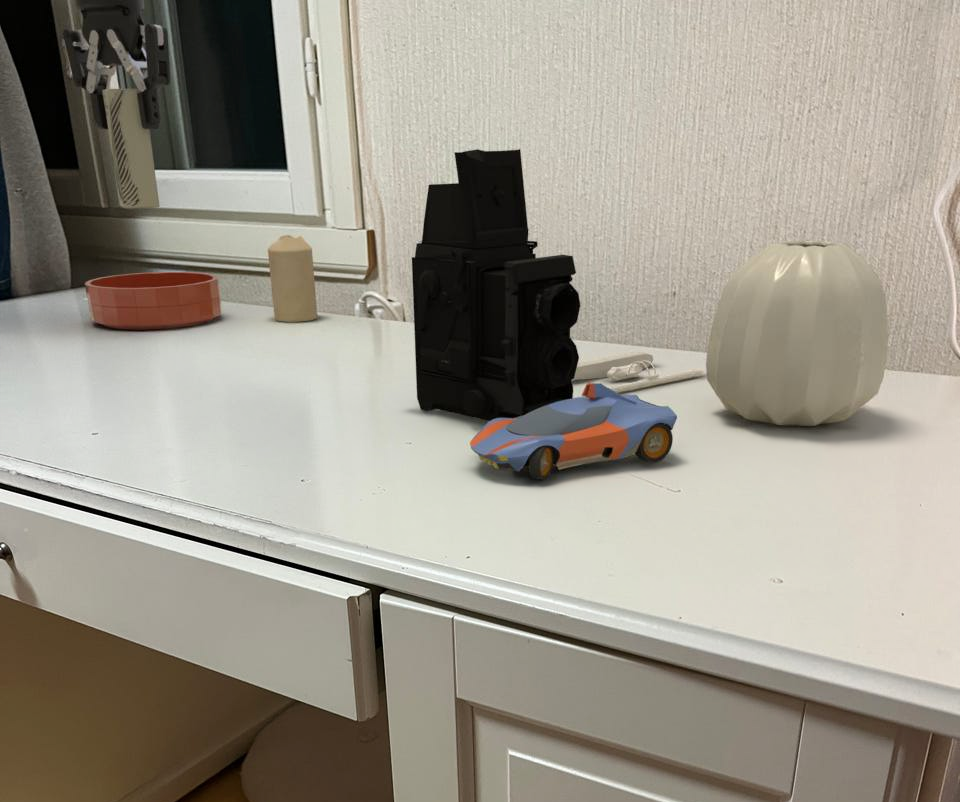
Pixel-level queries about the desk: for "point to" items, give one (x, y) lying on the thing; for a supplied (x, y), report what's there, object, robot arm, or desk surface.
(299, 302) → the candle
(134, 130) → the box
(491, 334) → the camera
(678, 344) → the desk surface
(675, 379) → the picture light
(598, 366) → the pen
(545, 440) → the toy car
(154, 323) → the bowl
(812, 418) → the vase
